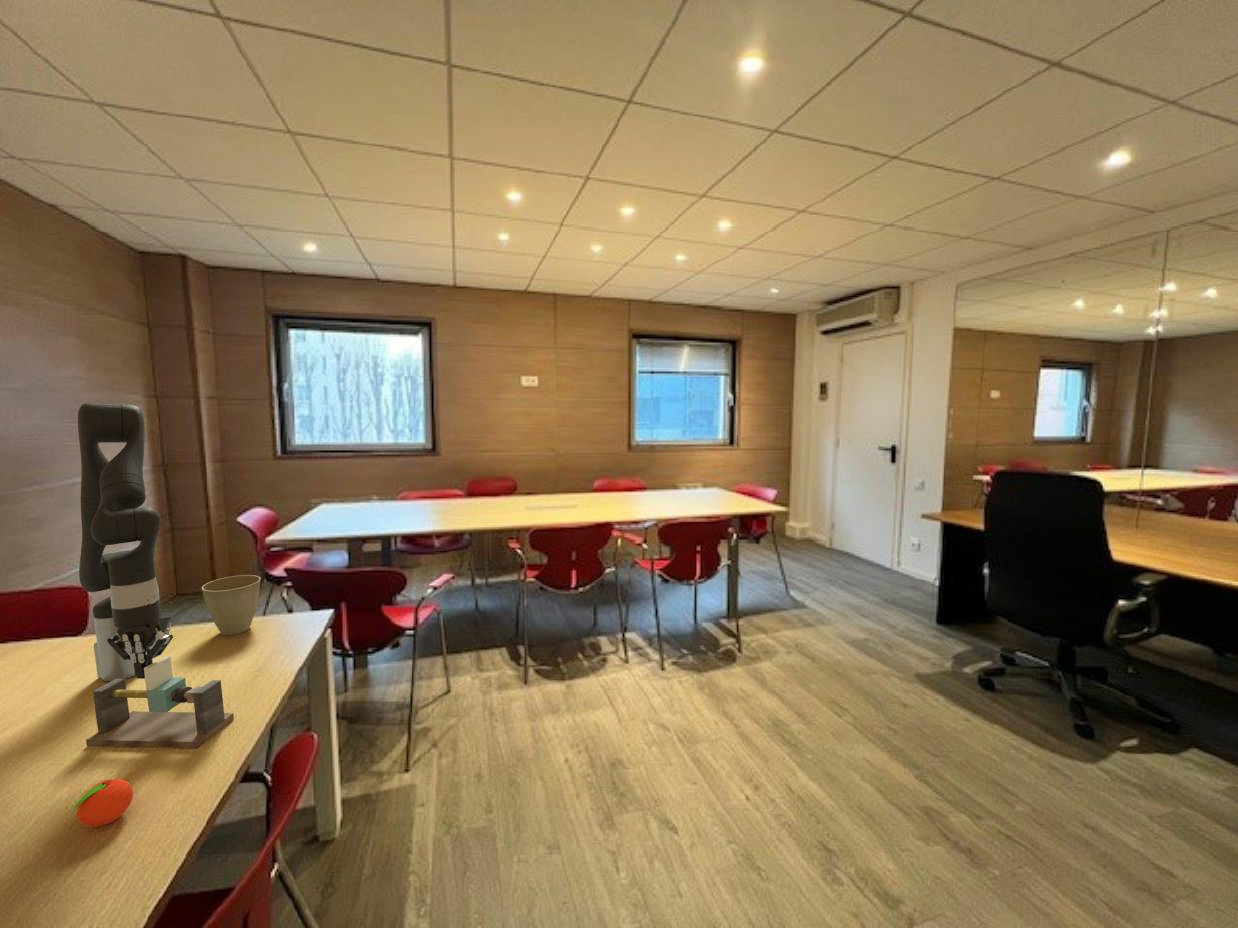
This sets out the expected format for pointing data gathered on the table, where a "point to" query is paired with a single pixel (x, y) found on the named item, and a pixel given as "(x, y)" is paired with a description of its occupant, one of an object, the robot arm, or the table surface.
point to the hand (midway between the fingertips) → (144, 676)
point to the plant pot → (232, 602)
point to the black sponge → (165, 624)
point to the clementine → (104, 802)
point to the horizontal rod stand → (157, 718)
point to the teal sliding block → (161, 685)
